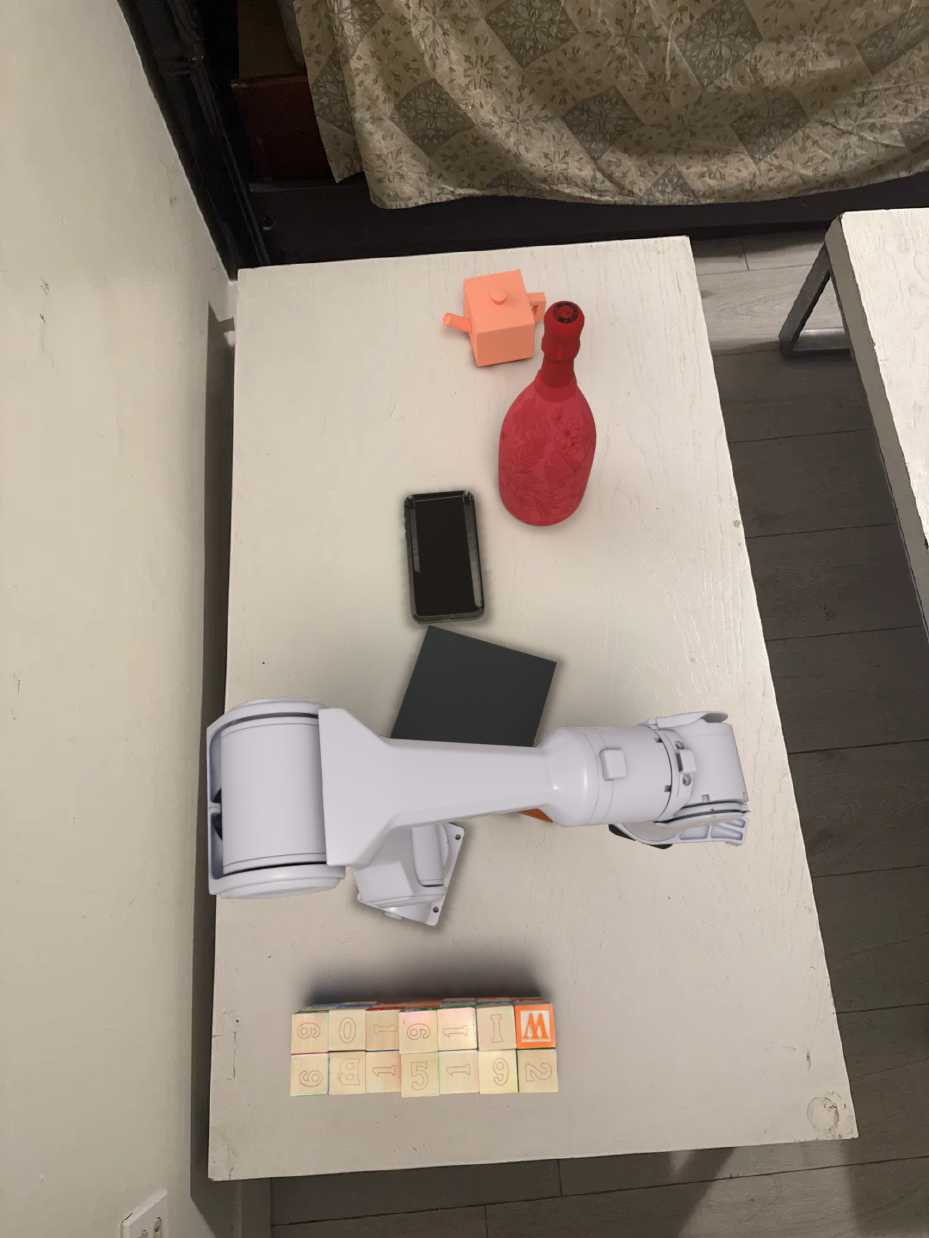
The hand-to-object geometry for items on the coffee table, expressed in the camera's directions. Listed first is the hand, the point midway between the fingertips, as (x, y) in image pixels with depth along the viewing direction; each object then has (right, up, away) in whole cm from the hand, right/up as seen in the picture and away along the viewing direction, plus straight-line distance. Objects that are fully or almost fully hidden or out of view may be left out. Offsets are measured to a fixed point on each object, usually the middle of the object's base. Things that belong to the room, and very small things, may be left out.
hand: (632, 818), depth 75 cm
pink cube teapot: (-11, +51, +30) cm, 60 cm away
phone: (-17, +24, +20) cm, 36 cm away
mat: (-14, +7, +14) cm, 21 cm away
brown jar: (-5, 0, +8) cm, 10 cm away
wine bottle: (-6, +31, +23) cm, 39 cm away
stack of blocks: (-18, -21, +4) cm, 28 cm away
